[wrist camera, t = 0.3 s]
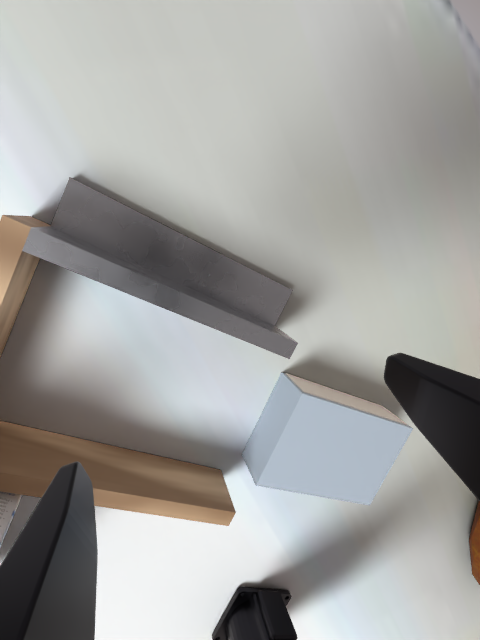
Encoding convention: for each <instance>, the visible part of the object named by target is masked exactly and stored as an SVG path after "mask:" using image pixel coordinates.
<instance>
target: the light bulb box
mask: <svg viewBox="0 0 480 640" xmlns="http://www.w3.org/2000/svg"><path fill="white" fill-rule="evenodd" d="M21 497H22V495H21V494H14V493H7V492H1V491H0V547H1V545H2V542H3V540H4V538H5V535H6V533H7V531H8V528H9V526H10V523H11V521H12V519H13V516H14V514H15V512H16V509H17V507H18V504H19V502H20V500H21Z"/></svg>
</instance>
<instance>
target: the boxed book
mask: <svg viewBox="0 0 480 640" xmlns="http://www.w3.org/2000/svg"><path fill="white" fill-rule="evenodd" d="M412 430H413V428H411V427H410V426H409V425H407V424H406V423H405V422H403V421H402V420H401V419H399V418H398V417H397V416H395V415H394V414H393V413H391V412H390V411H389V410H387V409H386V408H385V407H383V406H382V405H379V404H376V403H373V402H370V401H367V400H364V399H361V398H358V397H355V396H352V395H349V394H346V393H343V392H341V391H338V390H335V389H332V388H329V387H326V386H323V385H320V384H317V383H314V382H311V381H308V380H305V379H302V378H299V377H296V376H293V375H290V374H288V373H282V372H281V374H280V377H279V379H278V381H277V383H276V385H275V387H274V389H273V391H272V393H271V395H270V397H269V399H268V401H267V403H266V405H265V407H264V409H263V411H262V414H261V416H260V418H259V420H258V422H257V424H256V426H255V428H254V430H253V432H252V434H251V436H250V438H249V440H248V442H247V444H246V446H245V448H244V451H243V453H242V456H243V458H244V460H245V463H246V465H247V467H248V469H249V471H250V473H251V476H252V478H253V480H254V482H255V484H256V486H262V487H267V488H273V489H279V490H284V491H290V492H296V493H302V494H307V495H313V496H319V497H324V498H330V499H336V500H342V501H347V502H353V503H359V504H364V505H370V504H371V502H372V500H373V499H374V497H375V495H376V493H377V492H378V490H379V488H380V486H381V485H382V483H383V481H384V479H385V477H386V476H387V474H388V472H389V470H390V469H391V467H392V465H393V463H394V462H395V460H396V458H397V456H398V454H399V453H400V451H401V449H402V447H403V446H404V444H405V442H406V440H407V439H408V437H409V435H410V433H411V431H412Z"/></svg>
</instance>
